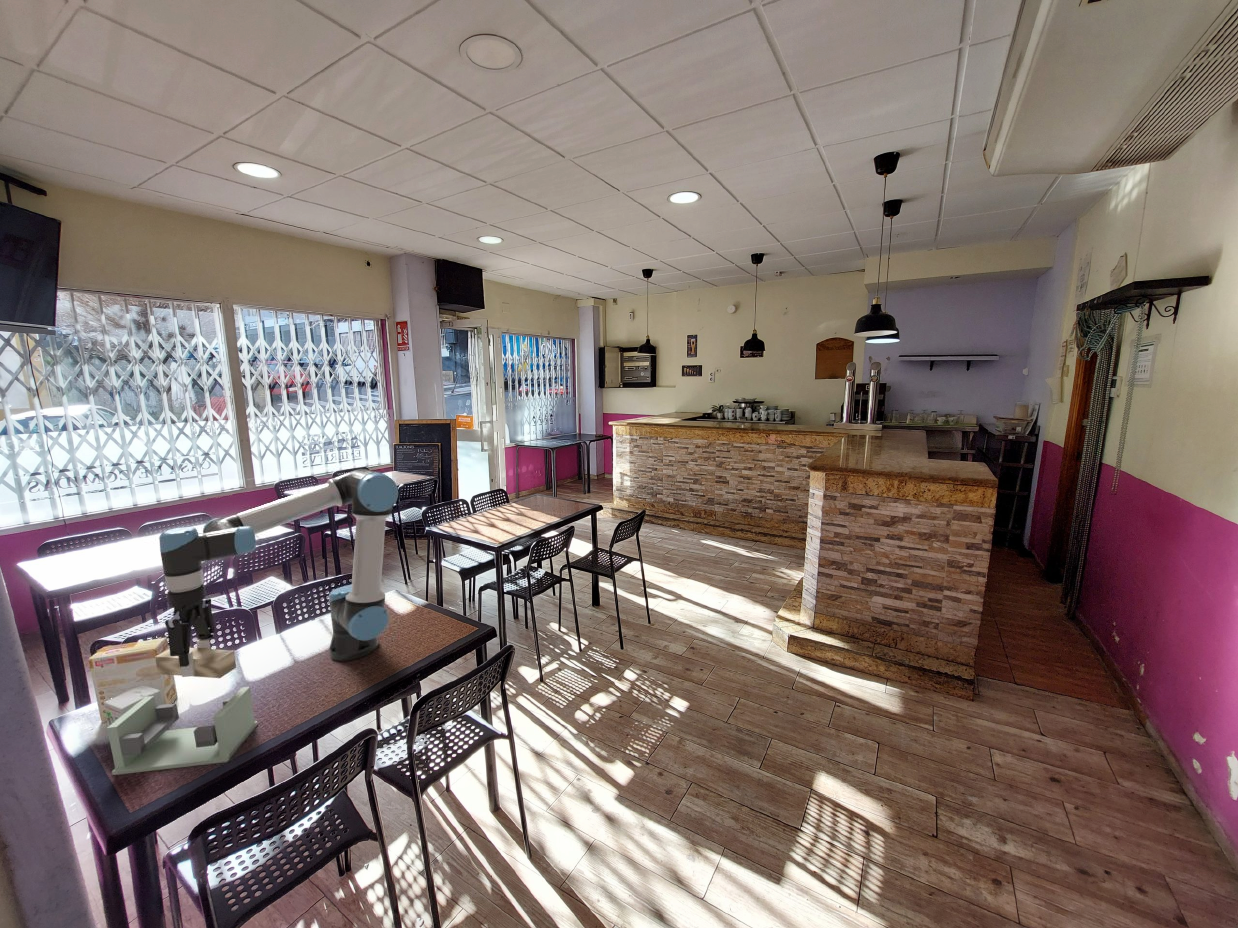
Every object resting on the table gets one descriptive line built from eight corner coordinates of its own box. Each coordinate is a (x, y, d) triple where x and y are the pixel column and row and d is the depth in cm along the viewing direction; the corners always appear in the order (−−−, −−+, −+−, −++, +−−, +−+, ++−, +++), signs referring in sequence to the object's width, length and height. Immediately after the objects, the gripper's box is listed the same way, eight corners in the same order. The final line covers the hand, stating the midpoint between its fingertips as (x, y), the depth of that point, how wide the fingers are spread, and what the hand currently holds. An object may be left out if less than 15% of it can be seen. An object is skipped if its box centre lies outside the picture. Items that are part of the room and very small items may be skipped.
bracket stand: (257, 723, 138) (251, 684, 136) (226, 761, 125) (219, 718, 123) (156, 734, 134) (148, 694, 132) (112, 774, 121) (103, 730, 119)
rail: (236, 667, 136) (234, 650, 135) (220, 678, 131) (217, 660, 130) (175, 663, 138) (173, 646, 137) (157, 673, 133) (155, 656, 132)
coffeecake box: (178, 696, 151) (167, 636, 148) (167, 710, 144) (155, 648, 141) (115, 707, 146) (102, 646, 143) (100, 723, 139) (86, 659, 136)
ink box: (110, 741, 132) (102, 701, 130) (149, 720, 140) (142, 682, 138) (129, 749, 129) (121, 708, 127) (168, 727, 137) (161, 689, 135)
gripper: (195, 574, 139) (206, 651, 143) (140, 603, 121) (154, 690, 125) (224, 573, 140) (234, 649, 144) (174, 601, 122) (187, 688, 125)
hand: (197, 668), depth 134 cm, fingers closed on rail, 6 cm apart
